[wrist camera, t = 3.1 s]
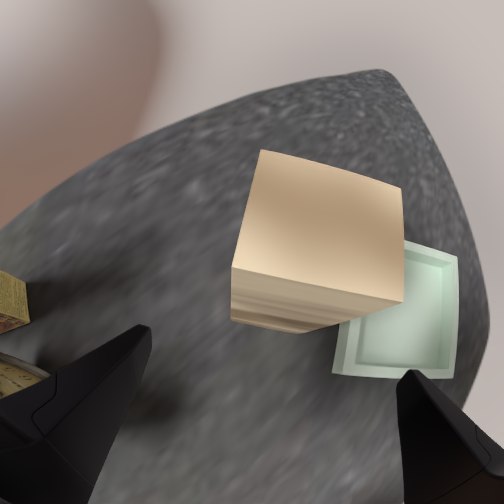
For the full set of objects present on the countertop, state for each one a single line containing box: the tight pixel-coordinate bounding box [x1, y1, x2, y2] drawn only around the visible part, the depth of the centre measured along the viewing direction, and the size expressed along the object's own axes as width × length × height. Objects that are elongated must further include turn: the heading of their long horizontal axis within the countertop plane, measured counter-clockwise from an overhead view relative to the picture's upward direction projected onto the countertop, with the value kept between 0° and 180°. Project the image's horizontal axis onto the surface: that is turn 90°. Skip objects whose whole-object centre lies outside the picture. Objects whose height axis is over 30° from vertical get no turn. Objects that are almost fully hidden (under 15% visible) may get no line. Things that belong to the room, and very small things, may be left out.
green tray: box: [332, 240, 459, 379], centre depth 19 cm, size 11×11×2 cm
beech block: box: [231, 149, 404, 334], centre depth 14 cm, size 4×5×13 cm
